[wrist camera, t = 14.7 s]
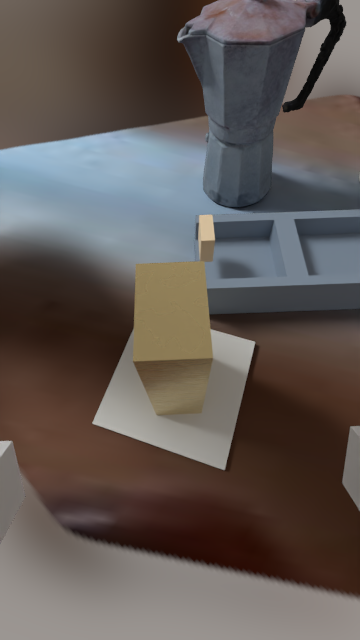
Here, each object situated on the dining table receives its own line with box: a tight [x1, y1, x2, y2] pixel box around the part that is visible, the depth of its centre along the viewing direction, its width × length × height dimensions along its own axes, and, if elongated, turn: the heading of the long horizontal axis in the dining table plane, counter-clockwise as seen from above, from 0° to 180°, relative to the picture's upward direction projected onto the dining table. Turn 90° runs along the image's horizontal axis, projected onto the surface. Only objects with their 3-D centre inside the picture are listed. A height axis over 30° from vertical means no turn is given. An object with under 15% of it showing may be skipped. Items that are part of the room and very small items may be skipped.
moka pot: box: [177, 0, 346, 207], centre depth 34 cm, size 10×15×20 cm, turn 106°
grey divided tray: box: [195, 209, 360, 314], centre depth 32 cm, size 25×9×8 cm, turn 92°
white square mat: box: [92, 329, 255, 470], centre depth 30 cm, size 12×12×1 cm
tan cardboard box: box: [133, 261, 213, 415], centre depth 24 cm, size 4×6×14 cm, turn 2°
